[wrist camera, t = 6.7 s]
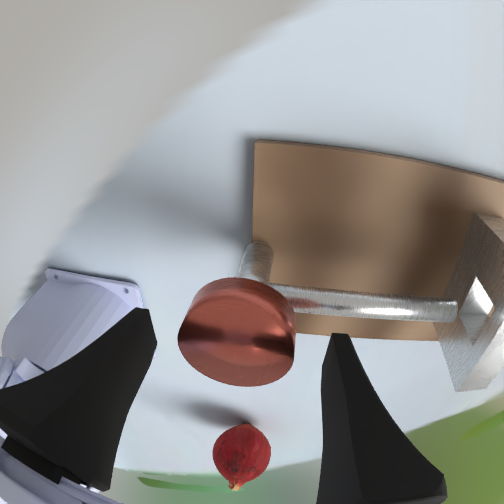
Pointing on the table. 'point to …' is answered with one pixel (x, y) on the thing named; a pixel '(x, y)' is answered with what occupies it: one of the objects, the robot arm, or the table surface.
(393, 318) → the red knob lever
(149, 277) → the table surface
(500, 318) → the grey rectangular block
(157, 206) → the table surface
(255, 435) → the onion
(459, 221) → the board
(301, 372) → the table surface
